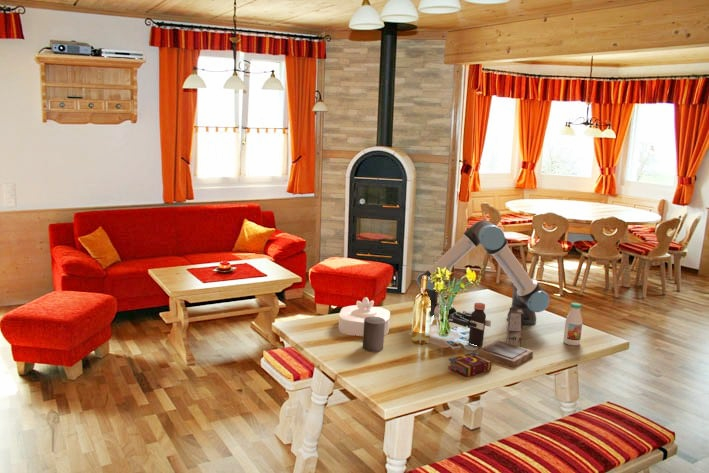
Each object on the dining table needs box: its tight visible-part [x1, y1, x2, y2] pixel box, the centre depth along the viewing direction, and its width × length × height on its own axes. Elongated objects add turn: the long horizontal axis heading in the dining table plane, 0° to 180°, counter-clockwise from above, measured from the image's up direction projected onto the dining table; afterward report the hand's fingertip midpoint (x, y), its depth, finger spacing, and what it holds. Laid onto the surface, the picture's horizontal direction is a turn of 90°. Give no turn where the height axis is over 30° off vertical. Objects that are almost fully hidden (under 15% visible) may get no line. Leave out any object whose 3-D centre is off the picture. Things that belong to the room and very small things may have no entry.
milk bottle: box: [563, 302, 583, 346], centre depth 302 cm, size 8×8×20 cm
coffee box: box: [506, 307, 524, 347], centre depth 300 cm, size 9×6×16 cm
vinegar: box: [467, 302, 487, 347], centre depth 294 cm, size 7×7×20 cm
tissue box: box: [337, 296, 391, 337], centre depth 311 cm, size 25×25×16 cm
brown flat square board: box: [477, 339, 534, 368], centre depth 283 cm, size 18×18×3 cm
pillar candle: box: [362, 316, 385, 353], centre depth 285 cm, size 10×10×15 cm
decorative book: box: [447, 351, 493, 377], centre depth 267 cm, size 11×16×5 cm
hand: (486, 325), depth 291 cm, fingers closed on vinegar, 6 cm apart
